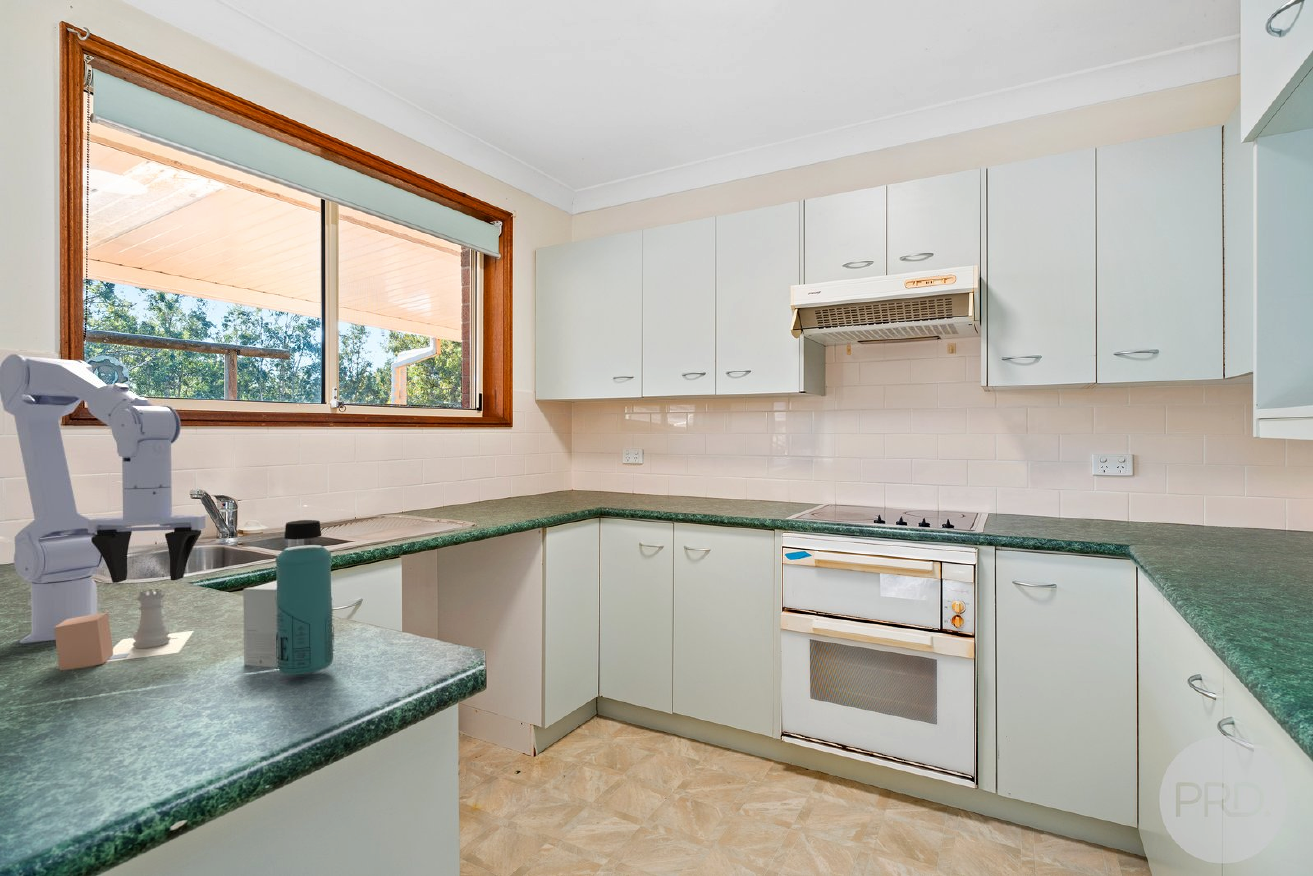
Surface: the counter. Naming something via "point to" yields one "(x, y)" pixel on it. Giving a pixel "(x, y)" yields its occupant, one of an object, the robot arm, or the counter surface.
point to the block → (83, 641)
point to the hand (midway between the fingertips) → (148, 580)
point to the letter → (128, 651)
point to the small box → (260, 625)
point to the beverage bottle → (304, 603)
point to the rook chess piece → (151, 621)
